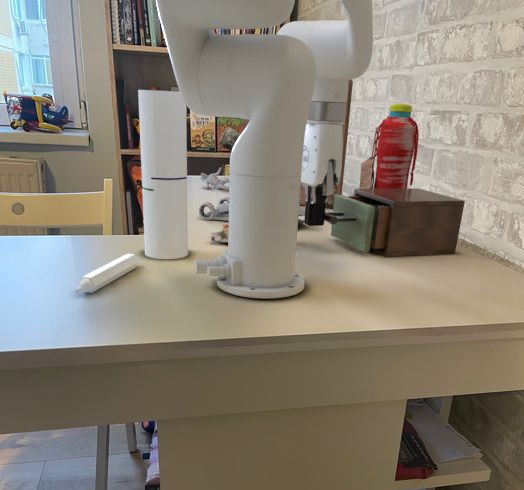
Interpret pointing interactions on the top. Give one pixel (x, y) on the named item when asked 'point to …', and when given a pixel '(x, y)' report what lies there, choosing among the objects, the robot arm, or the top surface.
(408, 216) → the cabinet
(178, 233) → the cylindrical container
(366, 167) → the water bottle
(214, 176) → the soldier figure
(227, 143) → the plant with pod
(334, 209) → the drawer
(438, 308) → the top surface
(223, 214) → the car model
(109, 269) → the marker
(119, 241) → the top surface
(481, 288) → the top surface
